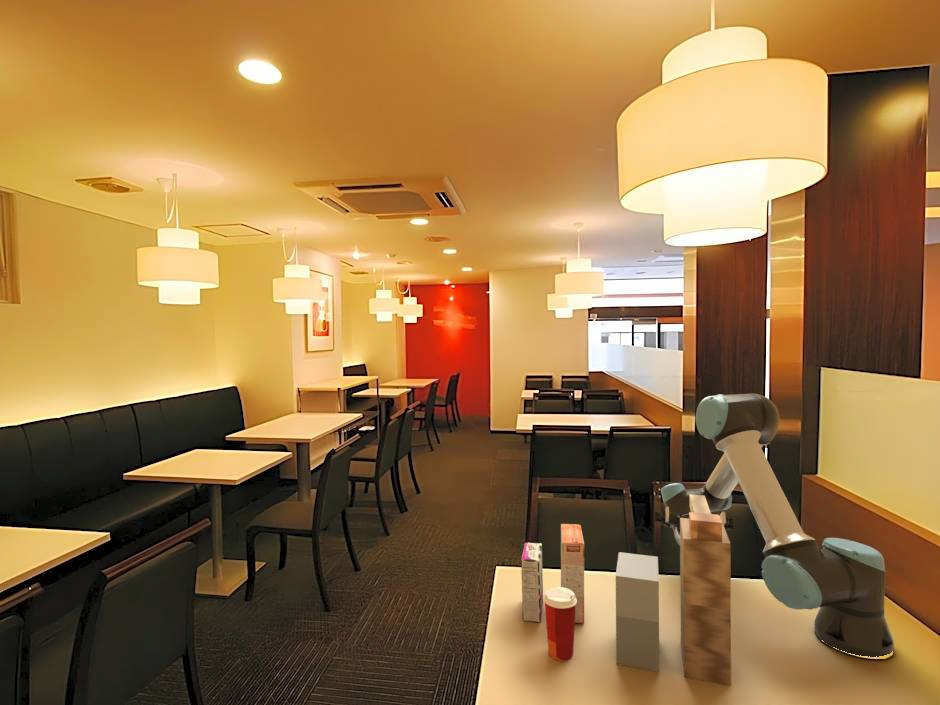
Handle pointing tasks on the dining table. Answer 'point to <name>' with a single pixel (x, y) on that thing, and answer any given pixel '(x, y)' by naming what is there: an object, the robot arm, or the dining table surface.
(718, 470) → the robot arm
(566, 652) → the paper cup
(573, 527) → the cracker box
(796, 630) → the dining table surface
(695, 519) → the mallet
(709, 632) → the tall tower
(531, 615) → the candy bar box
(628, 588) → the short tower
